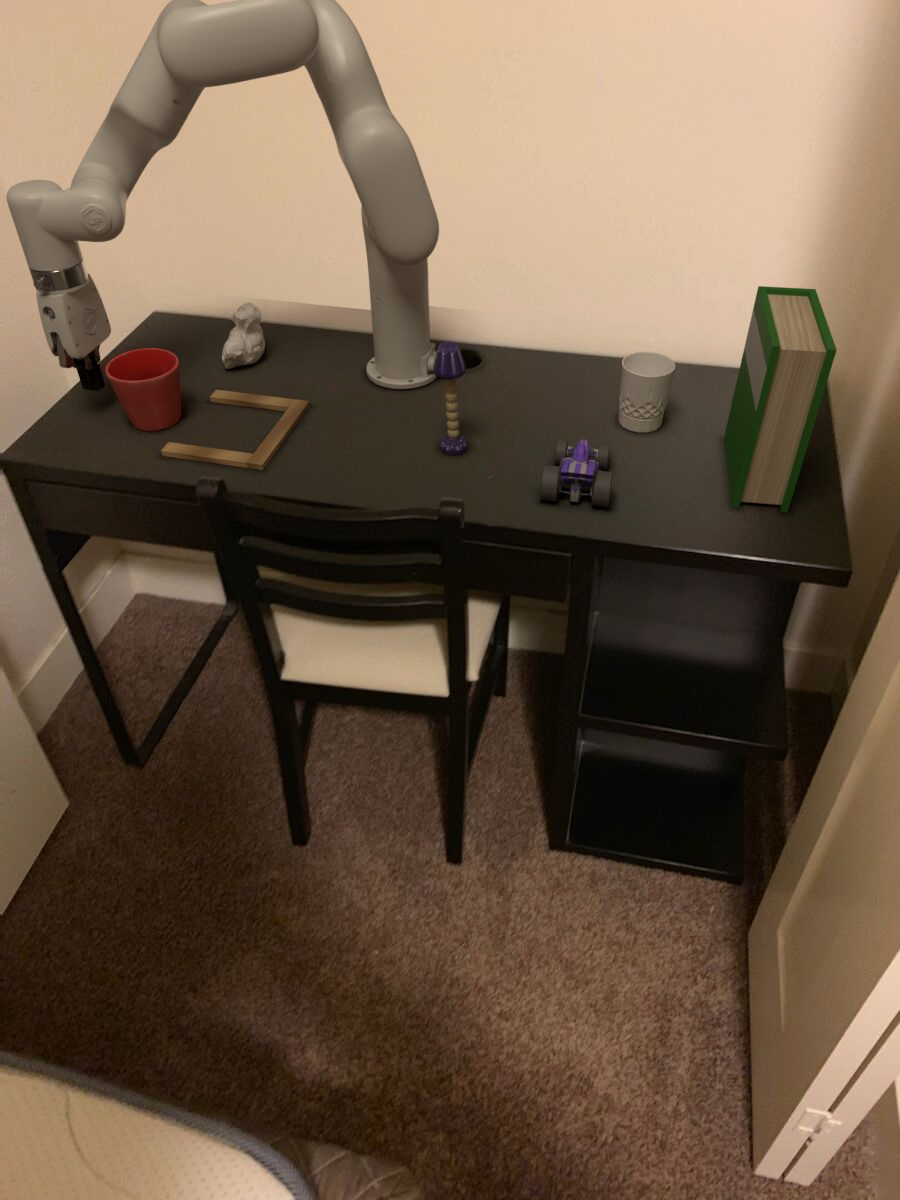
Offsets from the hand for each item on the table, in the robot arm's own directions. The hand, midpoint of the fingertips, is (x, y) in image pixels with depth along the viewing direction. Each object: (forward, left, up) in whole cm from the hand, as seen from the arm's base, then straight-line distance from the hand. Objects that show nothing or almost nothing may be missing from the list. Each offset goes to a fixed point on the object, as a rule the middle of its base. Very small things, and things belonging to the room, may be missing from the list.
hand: (94, 387), depth 142 cm
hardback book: (-102, -7, -5) cm, 103 cm away
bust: (-16, -22, -5) cm, 28 cm away
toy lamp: (-58, -3, -5) cm, 58 cm away
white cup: (-85, -17, -5) cm, 87 cm away
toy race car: (-78, +1, -5) cm, 78 cm away
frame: (-24, 0, -4) cm, 24 cm away
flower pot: (-10, 0, -5) cm, 11 cm away
